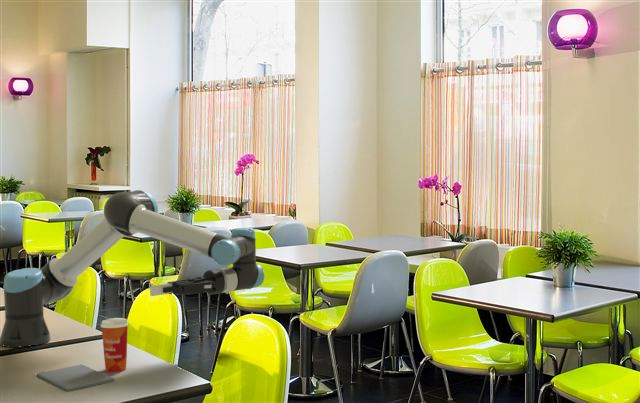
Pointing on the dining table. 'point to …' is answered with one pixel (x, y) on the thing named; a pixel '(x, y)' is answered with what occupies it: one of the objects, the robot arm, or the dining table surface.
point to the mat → (75, 377)
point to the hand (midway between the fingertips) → (151, 291)
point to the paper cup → (115, 343)
